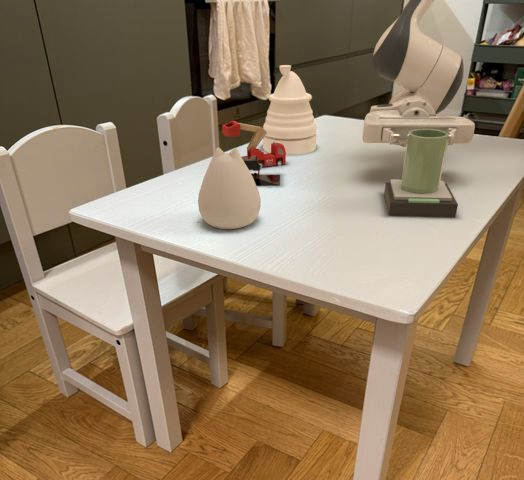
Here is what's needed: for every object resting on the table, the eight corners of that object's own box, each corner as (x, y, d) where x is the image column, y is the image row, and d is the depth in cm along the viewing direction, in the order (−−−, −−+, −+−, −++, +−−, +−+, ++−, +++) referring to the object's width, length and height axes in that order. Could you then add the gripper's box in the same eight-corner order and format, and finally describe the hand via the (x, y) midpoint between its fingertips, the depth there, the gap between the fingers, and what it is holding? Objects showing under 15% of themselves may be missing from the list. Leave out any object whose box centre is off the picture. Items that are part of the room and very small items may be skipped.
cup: (435, 182, 90) (445, 129, 85) (441, 194, 85) (452, 138, 79) (398, 181, 91) (406, 128, 85) (402, 193, 85) (410, 137, 80)
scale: (444, 196, 93) (447, 179, 91) (455, 218, 84) (459, 200, 82) (383, 195, 94) (385, 178, 92) (388, 217, 85) (390, 199, 83)
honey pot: (295, 159, 115) (296, 70, 104) (252, 150, 122) (249, 66, 111) (325, 147, 123) (330, 63, 112) (284, 139, 130) (284, 60, 119)
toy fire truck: (287, 165, 111) (288, 118, 105) (228, 173, 107) (226, 124, 101) (282, 161, 113) (282, 115, 108) (224, 169, 109) (221, 121, 104)
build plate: (279, 176, 105) (280, 153, 102) (280, 188, 99) (280, 163, 96) (221, 176, 105) (219, 153, 102) (217, 188, 99) (216, 164, 96)
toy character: (265, 212, 88) (264, 140, 81) (255, 236, 80) (253, 158, 72) (208, 210, 89) (202, 139, 82) (192, 233, 81) (184, 156, 74)
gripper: (462, 140, 101) (478, 159, 89) (360, 139, 103) (362, 157, 92) (469, 106, 97) (486, 121, 86) (363, 105, 99) (366, 120, 88)
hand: (421, 140), depth 89 cm, fingers open, 8 cm apart
